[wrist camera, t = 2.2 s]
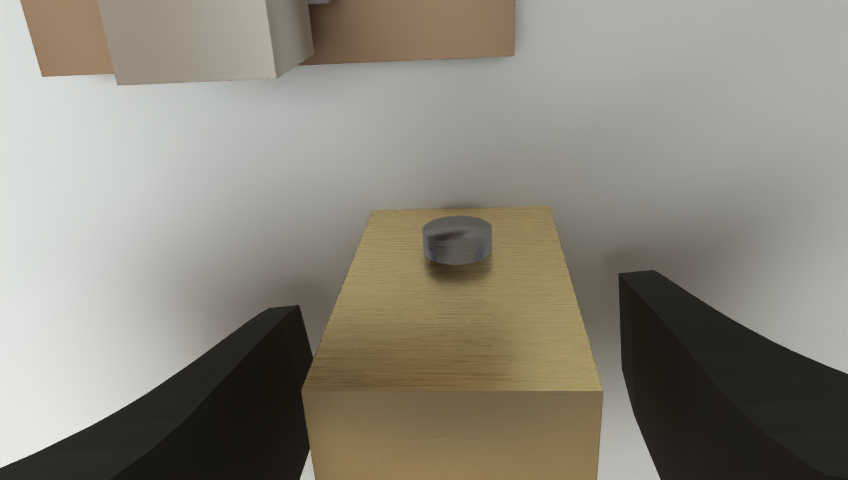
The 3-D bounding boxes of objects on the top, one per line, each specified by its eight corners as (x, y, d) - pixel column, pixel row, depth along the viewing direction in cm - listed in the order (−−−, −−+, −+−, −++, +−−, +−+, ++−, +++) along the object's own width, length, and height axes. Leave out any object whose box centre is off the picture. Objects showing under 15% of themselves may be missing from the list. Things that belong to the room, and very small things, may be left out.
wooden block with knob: (549, 187, 13) (605, 362, 7) (545, 371, 15) (587, 623, 9) (370, 192, 13) (296, 363, 8) (387, 371, 15) (336, 613, 10)
